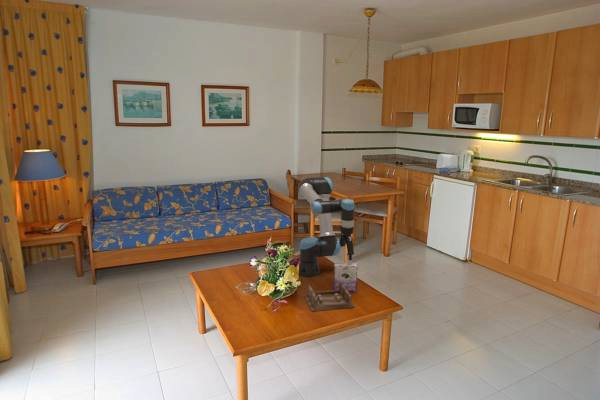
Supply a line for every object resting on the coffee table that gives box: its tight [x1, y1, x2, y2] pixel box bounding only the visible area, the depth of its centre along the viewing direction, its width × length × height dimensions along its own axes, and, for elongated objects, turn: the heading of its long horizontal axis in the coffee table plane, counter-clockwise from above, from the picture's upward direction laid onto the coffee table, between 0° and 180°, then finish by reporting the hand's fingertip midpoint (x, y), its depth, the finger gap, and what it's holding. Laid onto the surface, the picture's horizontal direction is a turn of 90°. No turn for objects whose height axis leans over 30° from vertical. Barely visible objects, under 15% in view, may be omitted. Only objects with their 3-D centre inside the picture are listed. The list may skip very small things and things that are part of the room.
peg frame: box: [304, 283, 355, 312], centre depth 224 cm, size 18×24×7 cm
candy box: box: [333, 261, 358, 293], centre depth 239 cm, size 14×6×16 cm, turn 84°
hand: (345, 260), depth 237 cm, fingers open, 13 cm apart
